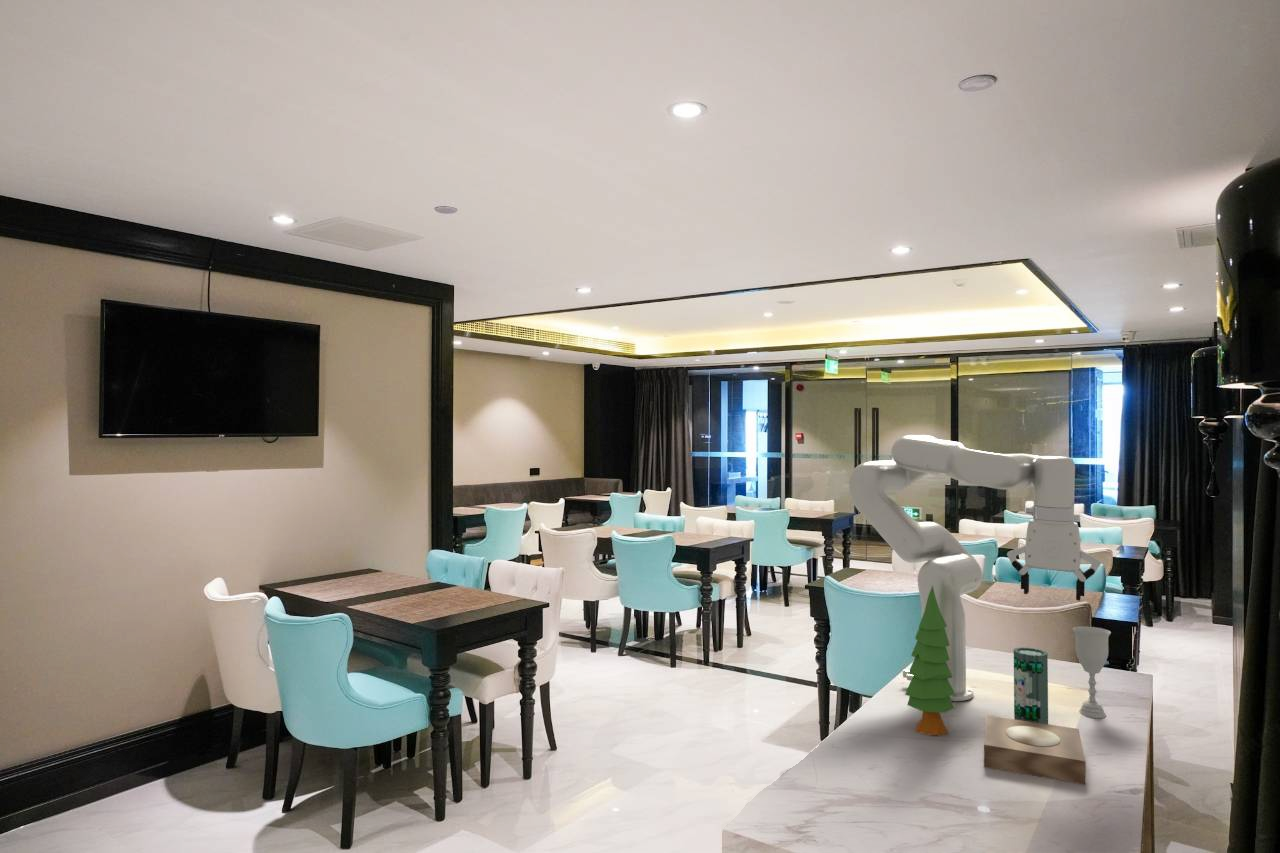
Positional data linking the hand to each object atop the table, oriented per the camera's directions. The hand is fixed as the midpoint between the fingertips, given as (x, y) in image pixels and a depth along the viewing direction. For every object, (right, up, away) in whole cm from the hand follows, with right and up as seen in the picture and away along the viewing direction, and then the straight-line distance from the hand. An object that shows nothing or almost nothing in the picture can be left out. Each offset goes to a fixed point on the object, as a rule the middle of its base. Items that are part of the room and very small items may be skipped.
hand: (1051, 596), depth 159 cm
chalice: (+12, -27, +5) cm, 30 cm away
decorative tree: (-27, -27, -3) cm, 38 cm away
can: (-5, -27, 0) cm, 27 cm away
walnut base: (-13, -26, -17) cm, 34 cm away
